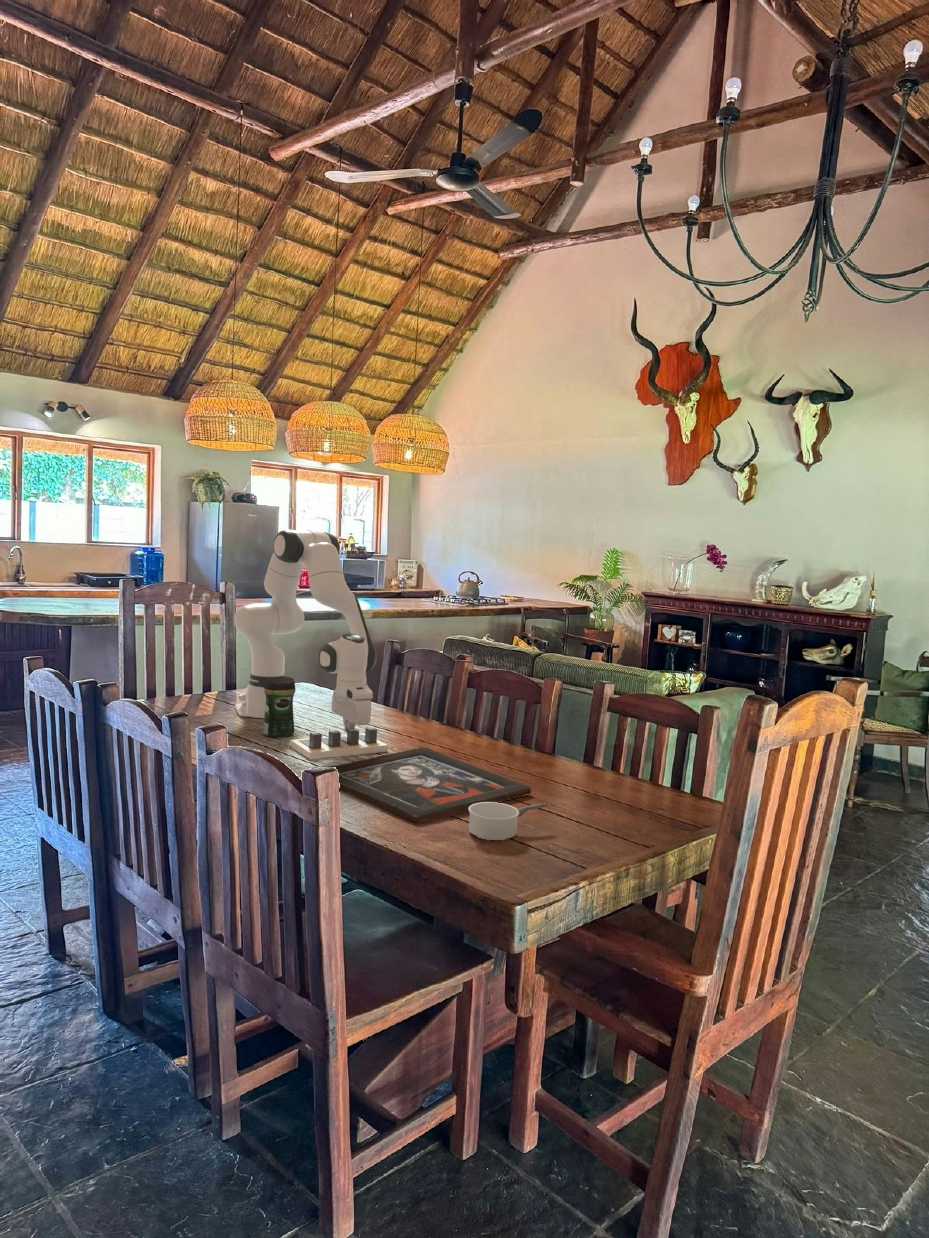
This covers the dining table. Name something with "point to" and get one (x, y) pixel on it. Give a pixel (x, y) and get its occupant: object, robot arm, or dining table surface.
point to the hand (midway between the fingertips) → (349, 733)
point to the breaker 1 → (315, 739)
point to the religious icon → (424, 784)
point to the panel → (337, 747)
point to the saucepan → (496, 819)
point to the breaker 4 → (371, 735)
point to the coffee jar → (279, 707)
